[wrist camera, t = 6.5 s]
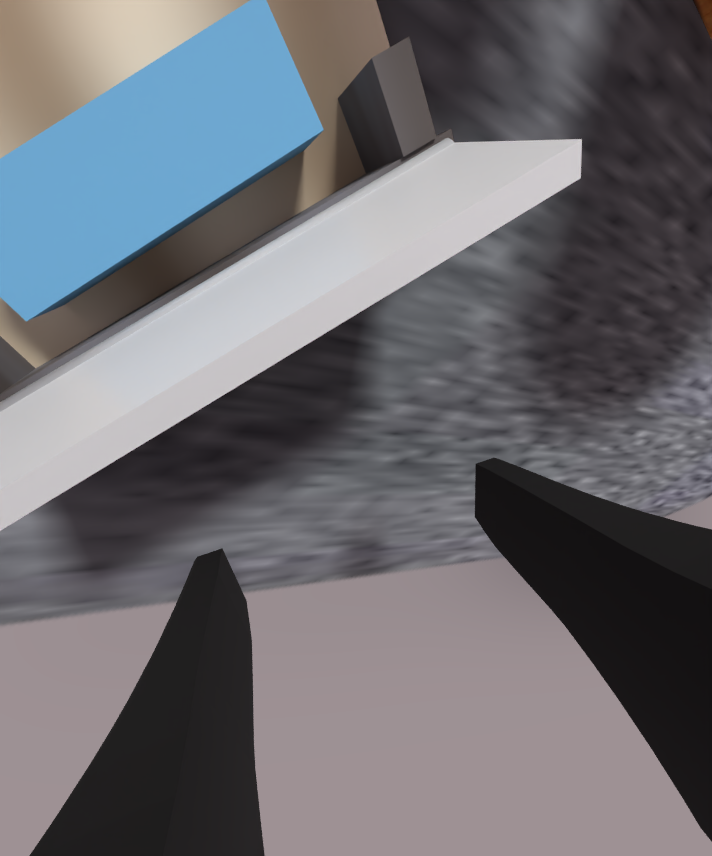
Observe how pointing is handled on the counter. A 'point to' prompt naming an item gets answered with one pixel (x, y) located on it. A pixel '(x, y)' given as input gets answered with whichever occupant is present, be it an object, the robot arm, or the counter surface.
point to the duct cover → (265, 310)
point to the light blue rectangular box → (149, 159)
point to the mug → (705, 13)
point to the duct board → (247, 210)
